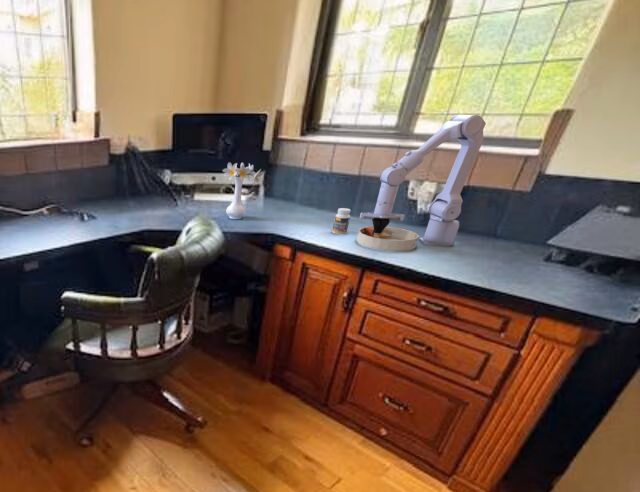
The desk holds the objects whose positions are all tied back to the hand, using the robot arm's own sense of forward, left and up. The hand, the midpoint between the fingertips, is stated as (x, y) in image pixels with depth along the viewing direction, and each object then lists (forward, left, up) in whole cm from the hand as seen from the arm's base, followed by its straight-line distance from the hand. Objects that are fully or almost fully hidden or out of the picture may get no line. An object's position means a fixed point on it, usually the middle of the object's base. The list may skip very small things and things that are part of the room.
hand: (375, 238), depth 163 cm
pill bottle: (+12, -12, -2) cm, 17 cm away
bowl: (-3, +1, -2) cm, 4 cm away
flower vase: (+56, -30, -2) cm, 63 cm away
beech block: (-1, +4, -1) cm, 4 cm away
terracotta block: (+1, -5, -1) cm, 5 cm away
